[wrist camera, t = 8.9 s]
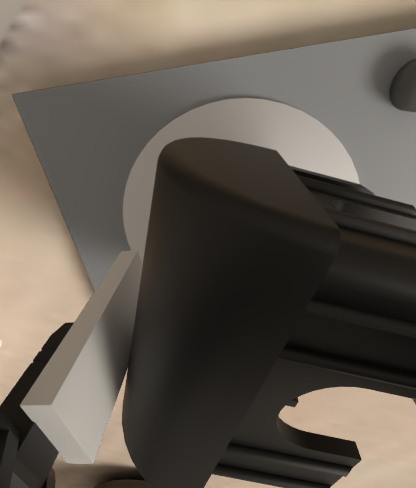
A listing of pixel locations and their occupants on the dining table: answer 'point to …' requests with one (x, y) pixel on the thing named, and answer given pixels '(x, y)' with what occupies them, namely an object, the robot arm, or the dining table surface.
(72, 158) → the plate
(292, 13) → the dining table surface
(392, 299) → the end cap
